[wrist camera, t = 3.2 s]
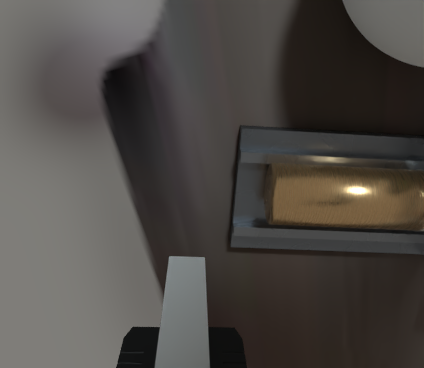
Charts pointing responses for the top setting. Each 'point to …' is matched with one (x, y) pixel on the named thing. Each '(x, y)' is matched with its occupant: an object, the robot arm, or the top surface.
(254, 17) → the top surface
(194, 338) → the robot arm
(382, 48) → the decorative ball
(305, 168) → the copper tube
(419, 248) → the grey open frame rack
